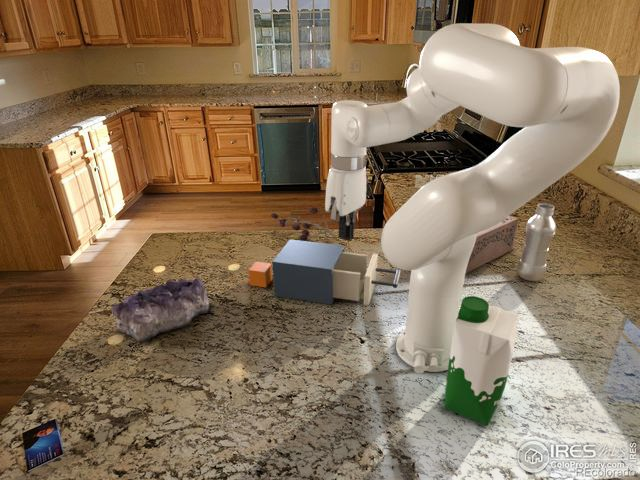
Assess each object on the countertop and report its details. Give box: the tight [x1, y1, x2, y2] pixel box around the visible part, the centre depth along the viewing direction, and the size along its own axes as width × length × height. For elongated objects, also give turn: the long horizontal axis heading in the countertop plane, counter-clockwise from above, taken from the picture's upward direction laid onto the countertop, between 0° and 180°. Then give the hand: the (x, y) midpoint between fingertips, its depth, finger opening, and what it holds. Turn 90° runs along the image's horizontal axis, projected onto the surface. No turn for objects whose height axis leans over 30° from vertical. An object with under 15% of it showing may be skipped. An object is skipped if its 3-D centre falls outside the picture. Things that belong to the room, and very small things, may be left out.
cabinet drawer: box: [333, 251, 402, 306], centre depth 103 cm, size 20×11×8 cm, turn 74°
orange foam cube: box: [248, 261, 273, 288], centre depth 109 cm, size 4×4×4 cm
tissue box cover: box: [465, 215, 519, 275], centre depth 121 cm, size 26×14×10 cm, turn 127°
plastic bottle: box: [516, 203, 557, 282], centre depth 106 cm, size 6×7×20 cm
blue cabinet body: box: [271, 239, 345, 306], centre depth 106 cm, size 15×13×10 cm
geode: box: [111, 277, 211, 343], centre depth 94 cm, size 20×12×10 cm, turn 130°
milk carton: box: [444, 295, 519, 427], centre depth 69 cm, size 9×9×20 cm
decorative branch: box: [270, 206, 338, 243], centre depth 136 cm, size 11×9×30 cm
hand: (346, 237), depth 99 cm, fingers closed
